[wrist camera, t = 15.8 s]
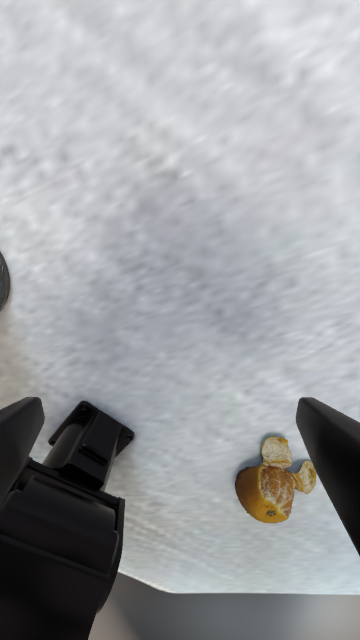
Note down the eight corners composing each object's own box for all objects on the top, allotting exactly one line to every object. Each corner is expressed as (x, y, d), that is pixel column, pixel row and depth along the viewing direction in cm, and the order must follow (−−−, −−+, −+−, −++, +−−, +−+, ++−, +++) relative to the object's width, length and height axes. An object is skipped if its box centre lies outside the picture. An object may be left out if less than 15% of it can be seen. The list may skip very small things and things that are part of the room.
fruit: (321, 471, 26) (343, 506, 23) (265, 509, 28) (277, 547, 24) (273, 430, 24) (288, 461, 21) (216, 474, 26) (222, 509, 23)
